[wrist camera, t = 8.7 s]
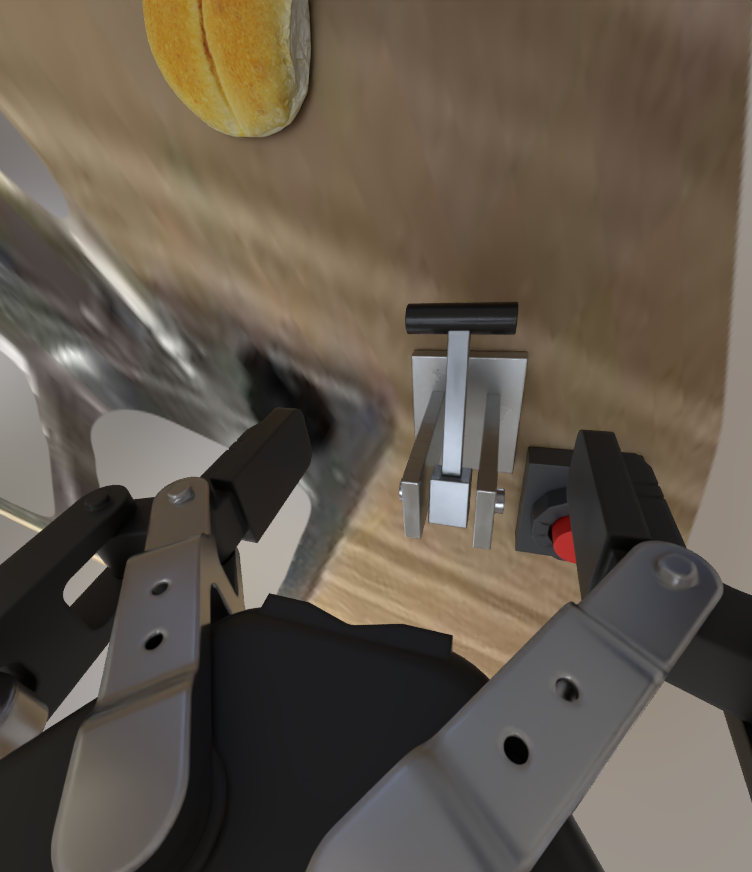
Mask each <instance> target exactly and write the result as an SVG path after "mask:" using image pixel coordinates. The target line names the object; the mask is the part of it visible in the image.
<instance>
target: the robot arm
mask: <svg viewBox="0 0 752 872" xmlns="http://www.w3.org/2000/svg"><path fill="white" fill-rule="evenodd" d="M311 457H312V450H311V445H310V441H309V436H308V432H307V428H306V424H305V419H304V415H303V413H302V411H301V410H299V409H290V408H275V409H274V410H273V411H272V412H271V413H270V414H269V415H268V416H267V417H266V418H265V419H264V420H263V421H262V422H259V423H258V424H256V425H254V426H252V427H251V428H249V429H247V430H246V431H245V432H244V433H243V434H242V435H241V436H240V437H239V438H238V439H237V442H234V443H233V444H232V445H231V446H230V447H229V450H226V451H225V452H224V453H223V454H222V455H221V456H220V457H219V458H218V459H217V460H216V461H215V462H214V463H213V465H212V466H211V467H209V469H208V470H206V471H205V473H204V474H202V475H201V477H187V478H183V479H180V480H177V481H175V482H173V483H171V484H169V485H167V486H166V487H164V488H163V489H162V490H161V491H160V492H159V493H158V494H157V495H156V497H151V498H143V499H133V498H132V497H131V495H130V493H129V491H128V490H127V489H126V488H125V487H124V486H121V485H110V486H105V487H102V488H99V489H96V490H94V491H92V492H90V493H88V494H86V495H85V496H83V497H82V498H81V499H79V500H78V501H77V502H75V503H74V504H73V505H72V506H71V507H69V508H68V509H67V510H66V511H65V512H63V513H62V514H61V515H60V516H59V517H57V518H56V519H55V520H54V521H53V522H51V523H50V524H49V525H48V526H47V527H45V528H44V529H43V530H42V531H41V532H39V533H38V534H37V535H36V536H35V537H34V538H32V539H31V540H30V541H29V542H27V543H26V544H25V545H24V546H23V547H21V548H20V549H19V550H18V551H17V552H16V553H14V554H13V555H12V556H11V557H9V558H8V559H7V560H6V561H5V562H3V563H2V564H1V565H0V872H605V871H604V870H603V868H602V866H601V865H600V863H599V861H598V859H597V857H596V856H595V854H594V852H593V850H592V849H591V847H590V845H589V843H588V842H587V840H586V838H585V836H584V835H583V833H582V831H581V829H580V828H579V826H578V824H577V822H576V821H575V819H574V817H573V815H572V814H573V812H574V811H575V809H576V808H577V806H578V805H579V804H580V802H581V801H582V799H583V798H584V796H585V795H586V794H587V792H588V791H589V789H590V788H591V786H592V785H593V783H594V782H595V781H596V779H597V778H598V776H599V775H600V773H601V772H602V770H603V769H604V768H605V766H606V765H607V763H608V762H609V760H610V759H611V757H612V756H613V754H614V753H615V751H616V750H617V748H618V747H619V746H620V744H621V743H622V741H623V740H624V738H625V737H626V736H627V734H628V733H629V731H630V730H631V728H632V727H633V726H634V724H635V723H636V721H637V720H638V718H639V717H640V715H641V714H642V713H643V711H644V710H645V708H646V707H647V705H648V704H649V702H650V701H651V700H652V698H653V697H654V695H655V694H656V692H657V691H658V689H659V688H660V687H661V685H662V684H663V682H664V681H666V682H668V683H670V684H672V685H674V686H676V687H678V688H680V689H682V690H684V691H686V692H688V693H690V694H691V695H694V696H696V697H698V698H699V699H701V700H703V701H705V702H707V703H710V704H711V705H713V706H715V707H717V708H719V709H721V710H723V711H724V714H725V718H726V721H727V724H728V727H729V730H730V733H731V736H732V740H733V743H734V747H735V750H736V753H737V756H738V759H739V763H740V766H741V768H742V772H743V775H744V779H745V782H746V785H747V788H748V791H749V795H750V798H751V801H752V595H750V594H747V593H744V592H741V591H739V590H737V589H734V588H732V587H730V586H728V585H726V584H724V583H722V580H721V578H720V576H719V574H718V573H717V572H716V570H715V569H714V568H713V567H712V566H711V565H710V564H709V563H708V562H707V561H706V560H704V559H703V558H702V557H701V556H699V555H697V554H696V553H694V552H693V551H691V550H689V549H687V548H686V546H685V544H684V541H683V539H682V537H681V534H680V532H679V530H678V528H677V525H676V523H675V521H674V518H673V516H672V514H671V511H670V509H669V507H668V505H667V502H666V500H665V499H664V498H663V497H664V495H663V493H662V491H661V488H660V486H658V482H657V479H656V477H655V475H654V472H653V470H652V468H651V467H650V466H649V465H648V464H647V463H646V462H645V461H644V460H643V459H641V458H640V457H639V456H638V455H637V454H636V453H625V452H621V450H620V447H619V445H618V442H617V439H616V436H615V434H614V432H608V431H594V430H580V431H579V433H578V436H577V439H576V444H575V448H574V452H573V456H572V461H571V465H570V469H569V473H568V479H567V490H566V494H567V504H568V510H569V517H570V524H571V531H572V538H573V544H574V551H575V558H576V565H577V572H578V579H579V585H580V592H581V599H582V601H581V602H580V603H579V604H577V605H576V604H575V603H574V602H569V603H567V604H566V605H564V606H563V607H562V608H561V609H560V610H559V611H558V612H557V613H556V614H555V615H554V616H553V617H552V618H551V619H550V620H549V621H548V622H547V623H546V624H545V625H544V626H543V627H542V628H541V629H540V630H539V631H538V632H537V633H536V634H535V635H534V636H533V637H532V638H531V639H530V640H529V641H528V642H527V643H526V644H525V645H524V646H523V647H522V648H521V649H520V650H519V651H518V652H517V653H516V654H515V655H514V656H513V657H512V658H511V659H510V660H509V661H508V662H507V663H506V664H505V665H504V666H503V667H502V668H501V669H500V670H499V671H498V672H497V673H496V674H495V675H494V676H493V677H492V678H491V679H490V680H489V679H488V677H487V676H486V675H485V674H484V673H482V672H481V671H480V670H479V669H478V668H477V667H476V666H475V665H473V664H472V663H470V662H469V661H468V660H466V659H465V658H463V657H462V656H460V655H458V654H456V653H454V652H452V640H453V635H449V634H444V633H440V632H436V631H431V630H427V629H423V628H418V627H414V626H409V625H405V624H380V625H350V624H347V623H345V622H343V621H341V620H339V619H338V618H336V617H334V616H332V615H331V614H329V613H327V612H325V611H323V610H322V609H320V608H318V607H316V606H315V605H313V604H311V603H309V602H305V601H300V600H296V599H292V598H287V597H283V596H278V595H274V594H270V593H269V595H268V596H267V598H266V600H265V602H264V604H263V605H262V607H261V608H253V609H247V610H245V605H244V596H243V585H242V575H241V564H240V556H239V555H240V554H239V551H238V548H237V545H238V544H239V543H240V541H241V540H245V541H250V542H255V543H258V541H259V540H260V538H261V537H262V535H263V534H264V532H265V531H266V529H267V528H268V526H269V525H270V523H271V522H272V520H273V519H274V518H275V516H276V515H277V513H278V512H279V510H280V509H281V507H282V506H283V504H284V503H285V501H286V500H287V498H288V497H289V495H290V494H291V492H292V491H293V489H294V488H295V486H296V485H297V483H298V482H299V480H300V479H301V478H302V476H303V475H304V473H305V472H306V470H307V469H308V467H309V465H310V462H311ZM96 552H97V553H98V555H99V556H100V557H101V559H102V560H103V561H104V563H105V564H106V565H107V568H106V569H105V570H104V571H103V572H102V573H101V574H100V575H99V576H98V577H97V578H96V579H95V581H94V582H93V583H92V584H91V585H90V586H89V587H88V588H87V589H86V590H85V591H84V592H83V593H82V594H81V596H80V597H79V598H78V599H77V600H76V601H75V602H74V603H73V604H72V605H71V606H70V607H69V606H68V605H67V603H66V602H65V601H64V599H63V591H64V588H65V586H66V584H67V582H68V581H69V580H70V578H71V577H72V576H74V574H75V573H77V572H78V571H79V570H80V568H81V567H82V566H83V565H84V564H85V563H86V562H87V561H88V560H89V559H90V558H91V557H92V556H93V555H94V554H95V553H96ZM109 642H110V643H109ZM108 643H109V647H108V652H107V657H106V662H105V667H104V671H103V676H102V680H101V685H100V690H99V694H98V697H97V698H96V699H94V700H92V701H91V702H89V703H87V704H86V705H84V706H83V707H81V708H80V709H78V710H77V711H75V712H74V713H72V714H70V715H69V716H67V717H66V718H64V719H62V720H61V721H59V722H58V723H56V724H55V725H53V726H51V727H50V728H48V729H47V730H45V731H44V732H42V731H43V730H44V727H45V725H46V722H47V721H48V720H49V719H50V717H51V716H52V715H53V713H54V712H55V711H56V710H57V708H58V707H59V706H60V705H61V703H62V702H63V701H64V699H65V698H66V697H67V695H68V694H69V693H70V692H71V690H72V689H73V688H74V687H75V685H76V684H77V682H79V680H80V679H81V678H82V676H83V675H84V674H85V673H86V671H87V670H88V669H89V667H90V666H91V665H92V663H93V662H94V661H95V660H96V659H97V657H98V656H99V654H100V653H101V652H102V651H103V650H104V648H105V647H106V646H107V644H108Z"/></svg>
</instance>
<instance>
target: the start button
mask: <svg viewBox="0 0 752 872" xmlns="http://www.w3.org/2000/svg"><path fill="white" fill-rule="evenodd" d="M552 537H553V546H554V550H555V552H556V553H557V555H558V556H559V557H561V558H562V559H564V560H566V561H569V562H572V563H576V558H575V551H574V544H573V538H572V531H571V524H570V517H569V515H568V516H563V517H561V518H559V519H558V520H557V521H556V522H555V523H554V524H553V526H552Z"/></svg>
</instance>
